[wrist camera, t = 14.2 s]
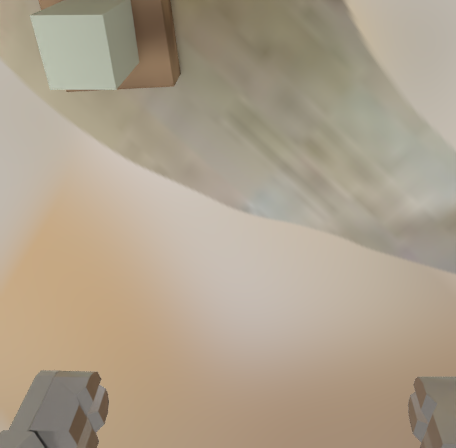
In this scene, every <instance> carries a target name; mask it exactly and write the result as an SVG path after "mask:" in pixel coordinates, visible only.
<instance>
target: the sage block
mask: <svg viewBox="0 0 456 448" xmlns="http://www.w3.org/2000/svg"><path fill="white" fill-rule="evenodd" d="M30 18H31V21H32V25H33V29H34V32H35V36H36V40H37V43H38V47H39V51H40V54H41V58H42V62H43V65H44V69H45V72H46V76H47V80H48V83H49V87H50V90H117V88H118V87H119V86H120V85H121V84H122V82H123V81H124V80H125V79H126V78H127V76H128V75H129V74H130V73H131V72H132V70H133V69H134V68H135V67H136V66H137V65H138V63H139V56H138V49H137V42H136V35H135V28H134V21H133V14H132V7H131V0H63V1H61V2H59V3H57V4H54V5H52V6H50V7H48V8H45V9H43V10H41V11H39V12H36V13H34V14H32V15H30Z"/></svg>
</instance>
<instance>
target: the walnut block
mask: <svg viewBox="0 0 456 448" xmlns="http://www.w3.org/2000/svg"><path fill="white" fill-rule="evenodd" d="M61 1H63V0H39V4H40V7H41V10H43V9H45V8H48V7H50V6H52V5H54V4H57V3H59V2H61ZM131 7H132V14H133V21H134V28H135V35H136V42H137V49H138V56H139V63H138V65H137V66H136V67H135V68H134V69H133V70H132V72H131V73H130V74H129V75H128V76H127V78H126V79H125V80H124V81H123V82H122V84H121V85H120V86H119V87H118V88H117V89H131V88H151V87H170V86H174V85H175V83H176V81H177V79H178V78H179V76H180V74H181V73H180V66H179V59H178V52H177V45H176V38H175V31H174V24H173V16H172V9H171V2H170V0H131ZM74 91H93V90H66V92H74Z"/></svg>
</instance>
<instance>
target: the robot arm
mask: <svg viewBox="0 0 456 448" xmlns="http://www.w3.org/2000/svg"><path fill="white" fill-rule="evenodd" d="M100 381H101V378H100V376H99V374H98V372H85V371H46V370H45V371H44V370H43V371H40V373H38V374H37V375H36V377H35V378H34V380H33V382H32V385H31V386H30V388H29V390H28V392H27V395H26V396H25V398H24V400H23V402H22V404H21V406H20V408H19V410H18V412H17V414H16V416H15V418H14V420H13V422H12V424H11V426H10V428H9V430H3V431H2V432H1V433H0V448H97V446H98V442H99V440H98V437H97V434H96V432H97V431H98V430H99V429H100V428H101V427H102V426H103V425H104V424H105V420H106V417H107V414H108V405H109V400H108V393H107V391H106V389H105V388H104V387H102V386H100V385H99V384H100ZM414 388H415V393H413V394H411V395H410V399H409V404H408V407H409V419H410V424H411V428H412V432H413V434H414V435H415V436H416V437H417V438H418V440H419V441H420V442H421V446H420V448H456V377H417V378H416V379H415V382H414Z"/></svg>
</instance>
